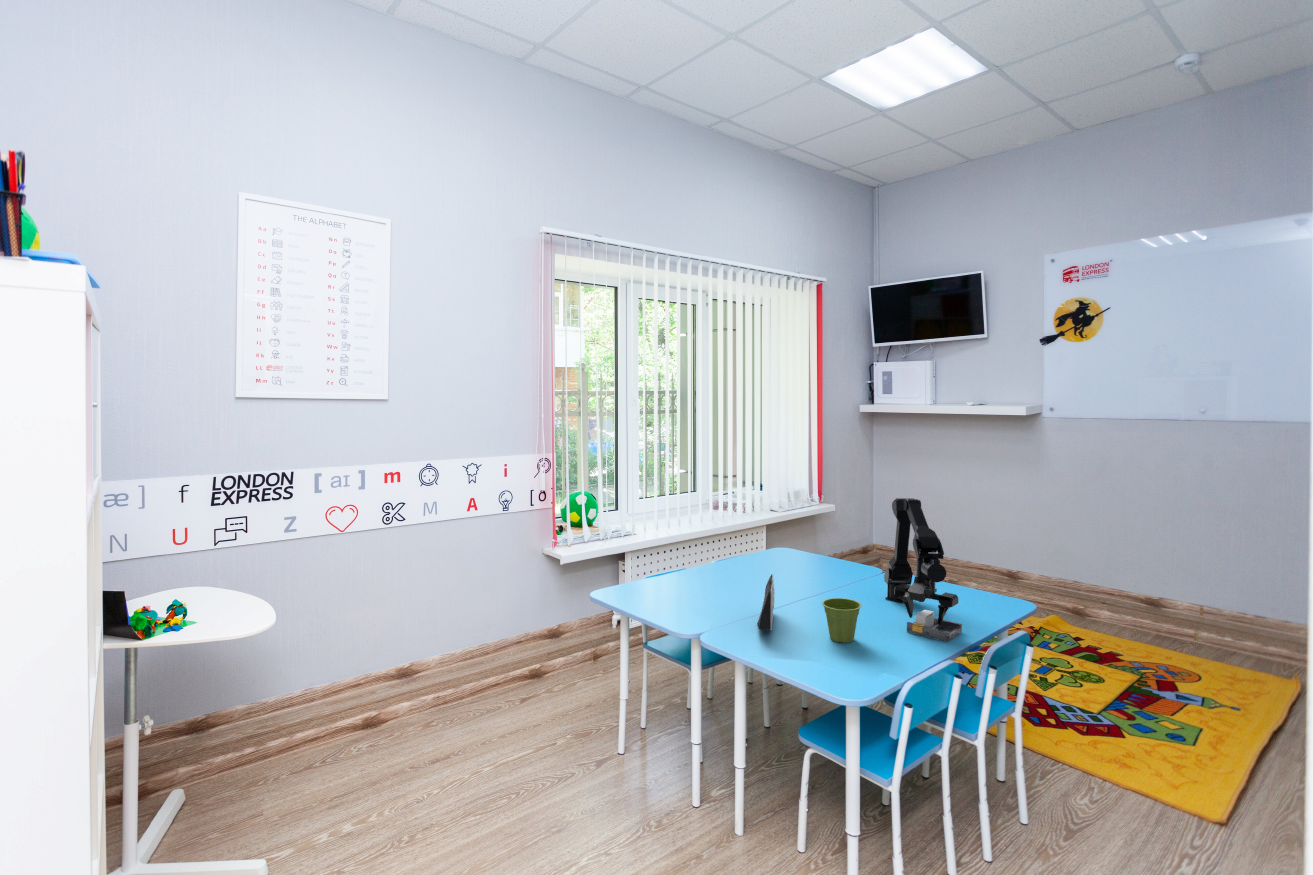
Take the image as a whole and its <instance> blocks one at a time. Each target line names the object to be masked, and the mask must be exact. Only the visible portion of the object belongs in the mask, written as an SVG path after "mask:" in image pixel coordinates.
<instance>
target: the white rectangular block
mask: <svg viewBox="0 0 1313 875" xmlns="http://www.w3.org/2000/svg"><path fill="white" fill-rule="evenodd" d="M934 617H935V611H934V610H928V609H923V610H922V611H920V612H918V613H916V614H915V621H916V623H917V624H921V625H924V626H927V627H933V626H934Z"/></svg>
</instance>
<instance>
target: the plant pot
mask: <svg viewBox="0 0 1313 875" xmlns="http://www.w3.org/2000/svg"><path fill="white" fill-rule="evenodd" d="M821 605H822V607H823V609H824V613H825V616H826V621H827V628H828V635H829V638H830V639H831V641H833V642H836V643H838V642H840V643H843V644H847V643H851V642H853V641H854V639H855V635H856V629H857V628H856V627H857V621H858V616H859V615H860V609H861V608H862V605H863V604H862V603H860V602H859V601H857V600H855V599H851V598H843V597H834V598H827V599H825V600H823V601H822V602H821Z"/></svg>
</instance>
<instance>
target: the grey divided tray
mask: <svg viewBox="0 0 1313 875" xmlns="http://www.w3.org/2000/svg"><path fill="white" fill-rule="evenodd" d="M906 633H910V634H914V635H918V636H922V637H924V638H929V639H933V640H938V641H941V642H945V643H950V642H951V641H953V640H954V639H956V638H957V637H959V636H960V635H961V634H962V633H963V624H962V623H960V622H955V621H952V620H946V619H943V620H942V622H941V624H940V625H938V617H935V616H934V626H933V627H927V626H924V625H921V624H917V623H916V620H915V621H913V622H911V621H907V622H906Z"/></svg>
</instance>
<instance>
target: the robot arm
mask: <svg viewBox="0 0 1313 875" xmlns="http://www.w3.org/2000/svg"><path fill="white" fill-rule="evenodd" d="M891 510H892V513H893V515H894V517H895V519H896V527H895V539H894V540H895V541H894V552H893V553H894V554H893V556H892V558H891V559H890V560H889V561H888V565H887V567H886V570H885V572H884V575H883V579H884V580H883V581H884V582H885V583H886V585H887V592H886V594H887V596H886V597H885V598H884V599H885V600H887V601H893V602H897V603H903V604H904V605H905V608H906V610H907V613H908V617H909V619H912V618H913V616H914V614H913V613H914V601H915V602H919V603H924V602H925V601H926V599H927V600H935V601H937V602H938V603H939V604H938V605H937V608H938V615H937V616H938V617H937V618H938V625H940V624H941V622H942V620H944V618H945V616H946V614H947V612H948V610H949V609H950V608H953V607H955V606H956V605H958V604H959V596H958V595H957V594H955V593H950V592H944V593H942V594H939V593H937V590H938V588H936V583H940V582H941V583H942V581H944V580H945V578H946V577H947V574H948V573H947V570H946V567H944V566H943V565H942V564H941V560H944V559H945V558H944V555H945V551H944V548H943V545H942V542H941V539H940V538H939V537H938V535H937V533H936V532H935V530H933V529H931V528H930V527H929V524H928V522H927V519H926V517H925V514H924V512H923V509H922V501H921V500H920V499H918V498H906V497H905V498H902V497H900V498H899V497H898V498H895V499H894V500H893V501H892V502H891ZM911 527H912V530H913V533H914V535H913V539H912V548H913V550H914V553H915V554H914V555H915V556H916V570H915V573H916V574H915V576H914V572H913V569H912V566H911V565H910V563H909V561H908V555H909V554H908V553H909V545H910V535H911V534H910V533H911ZM913 576H914V580H913ZM912 581H913V583H912Z"/></svg>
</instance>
